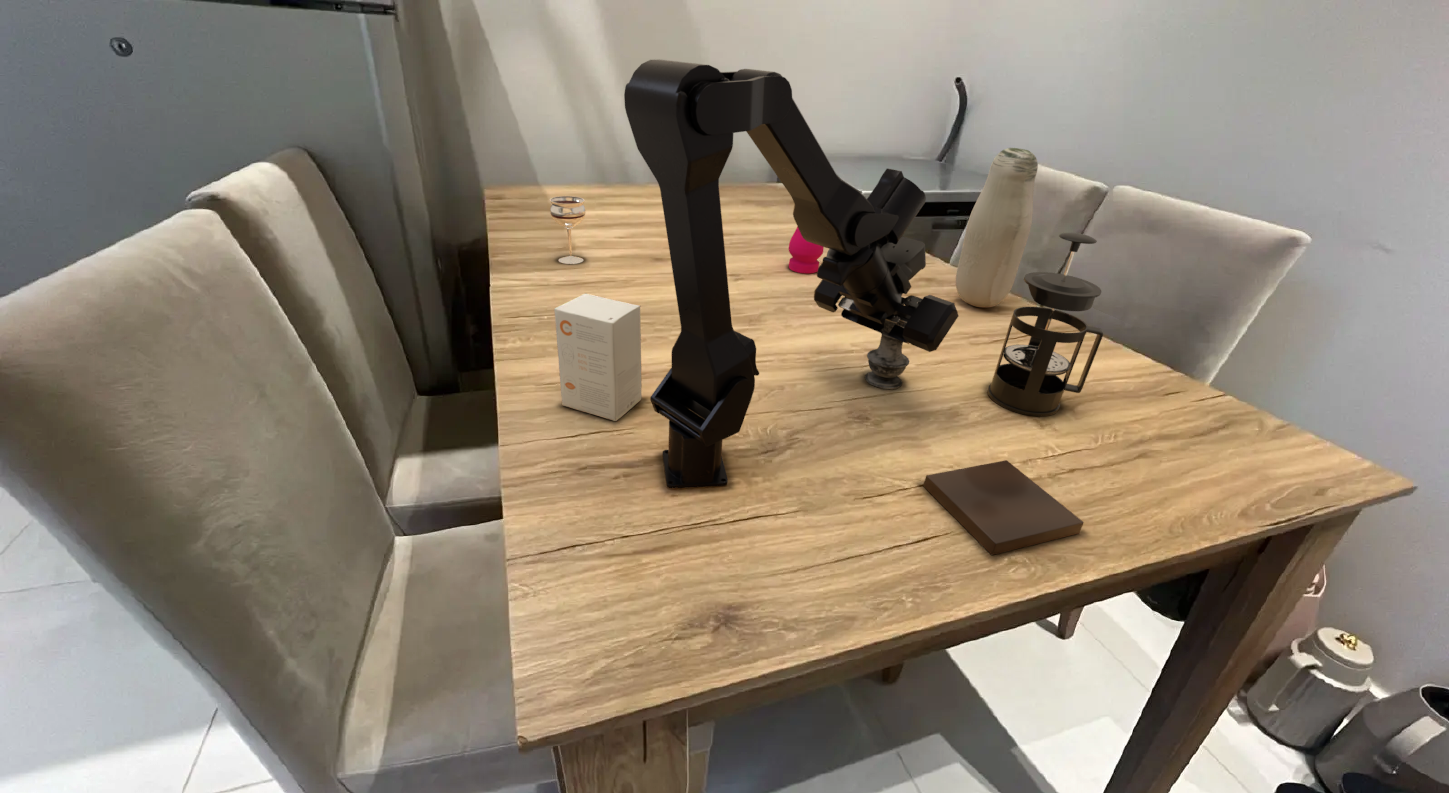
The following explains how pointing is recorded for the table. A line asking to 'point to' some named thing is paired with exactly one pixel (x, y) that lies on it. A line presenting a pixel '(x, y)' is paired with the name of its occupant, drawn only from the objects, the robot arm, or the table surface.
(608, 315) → the small box
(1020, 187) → the cream bottle
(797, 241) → the pepper mill
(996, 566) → the table surface
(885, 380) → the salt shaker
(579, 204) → the wineglass
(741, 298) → the table surface
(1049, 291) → the french press
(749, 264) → the table surface
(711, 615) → the table surface
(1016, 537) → the walnut board
